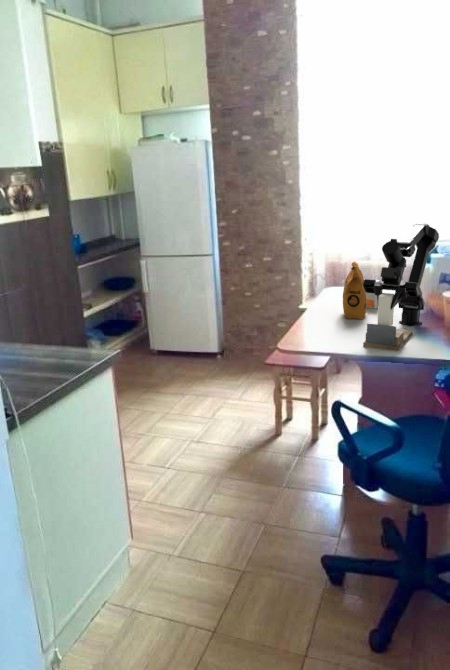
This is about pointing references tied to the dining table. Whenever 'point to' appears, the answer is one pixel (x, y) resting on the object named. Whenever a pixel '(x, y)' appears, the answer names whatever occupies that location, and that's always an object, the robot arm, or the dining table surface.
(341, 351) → the dining table surface
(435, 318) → the dining table surface
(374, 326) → the bookend
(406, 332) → the shelf plank
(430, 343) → the dining table surface
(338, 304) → the dining table surface
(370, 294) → the skincare box
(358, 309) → the coffee package
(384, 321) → the white rectangular block
